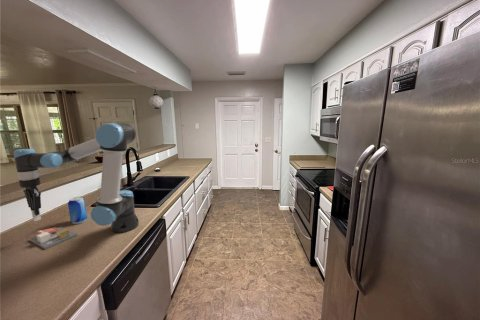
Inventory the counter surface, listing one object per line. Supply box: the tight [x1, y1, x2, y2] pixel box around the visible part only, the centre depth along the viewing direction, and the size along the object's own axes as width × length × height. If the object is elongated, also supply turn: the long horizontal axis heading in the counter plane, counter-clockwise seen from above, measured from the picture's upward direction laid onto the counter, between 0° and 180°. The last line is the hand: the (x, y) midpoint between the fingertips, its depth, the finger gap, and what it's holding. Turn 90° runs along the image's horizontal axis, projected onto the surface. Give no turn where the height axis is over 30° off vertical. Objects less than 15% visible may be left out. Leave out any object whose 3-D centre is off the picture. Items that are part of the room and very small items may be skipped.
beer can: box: [67, 196, 88, 225], centre depth 128 cm, size 8×8×16 cm
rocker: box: [36, 227, 59, 235], centre depth 112 cm, size 5×8×1 cm, turn 155°
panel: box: [28, 226, 78, 250], centre depth 111 cm, size 18×14×2 cm
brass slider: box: [56, 228, 70, 239], centre depth 110 cm, size 4×4×4 cm
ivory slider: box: [36, 232, 51, 243], centre depth 107 cm, size 4×4×4 cm
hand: (37, 220), depth 108 cm, fingers closed
